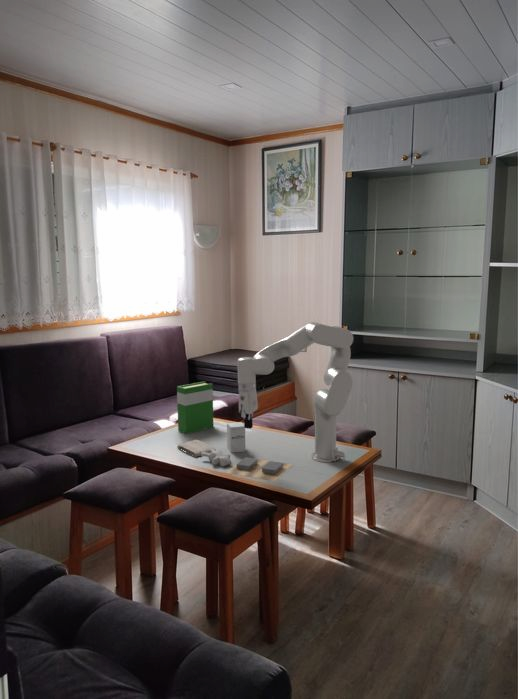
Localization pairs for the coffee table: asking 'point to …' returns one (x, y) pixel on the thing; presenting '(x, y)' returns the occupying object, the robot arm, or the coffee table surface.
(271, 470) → the tile near
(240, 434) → the supplement box
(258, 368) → the robot arm
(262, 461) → the oak board
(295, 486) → the coffee table surface
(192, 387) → the hardback book
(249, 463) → the tile far
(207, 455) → the bunny figurine
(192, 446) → the grey tracked toy vehicle
